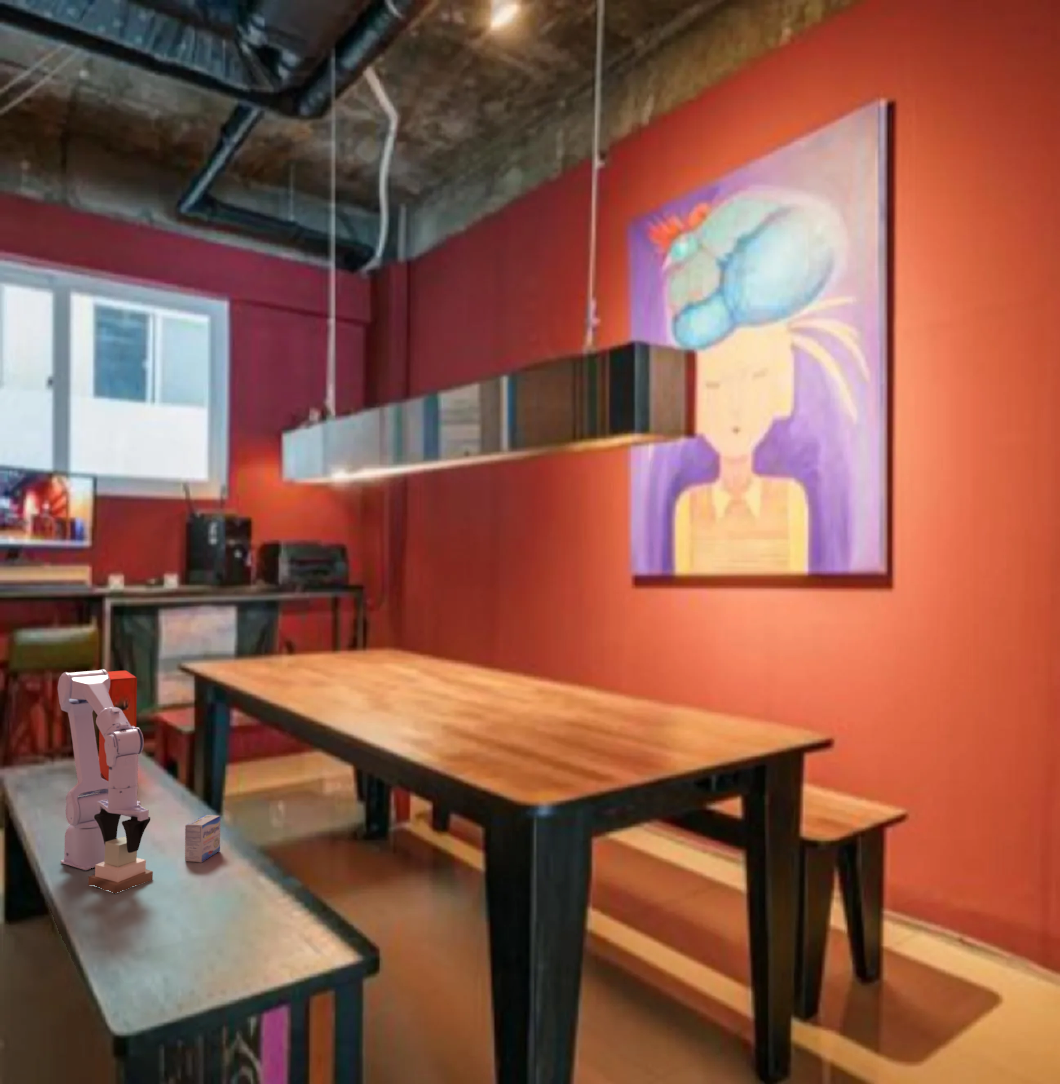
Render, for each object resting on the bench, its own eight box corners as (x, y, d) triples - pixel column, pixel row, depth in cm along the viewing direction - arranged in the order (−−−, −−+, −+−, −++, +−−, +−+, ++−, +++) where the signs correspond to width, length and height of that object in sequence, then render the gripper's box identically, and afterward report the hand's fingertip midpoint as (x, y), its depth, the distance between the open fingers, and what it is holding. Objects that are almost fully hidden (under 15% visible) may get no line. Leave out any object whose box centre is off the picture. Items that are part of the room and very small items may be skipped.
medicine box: (201, 863, 193) (202, 825, 194) (184, 861, 194) (184, 824, 194) (220, 851, 201) (221, 815, 201) (203, 850, 202) (204, 814, 202)
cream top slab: (95, 876, 180) (95, 864, 180) (123, 865, 186) (123, 854, 186) (117, 882, 177) (118, 870, 177) (145, 871, 183) (145, 860, 183)
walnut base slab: (88, 888, 180) (88, 876, 180) (125, 874, 188) (125, 863, 188) (115, 897, 175) (115, 885, 175) (152, 882, 183) (152, 871, 183)
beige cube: (104, 863, 181) (105, 841, 181) (122, 857, 185) (123, 836, 185) (117, 866, 179) (119, 845, 179) (136, 861, 183) (137, 840, 183)
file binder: (106, 783, 257) (109, 679, 257) (97, 771, 271) (100, 672, 271) (135, 779, 261) (137, 677, 262) (125, 767, 275) (127, 670, 276)
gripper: (161, 785, 182) (159, 848, 182) (117, 776, 189) (116, 836, 189) (132, 793, 176) (130, 858, 176) (88, 783, 183) (87, 846, 182)
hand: (121, 848), depth 182 cm, fingers open, 7 cm apart
